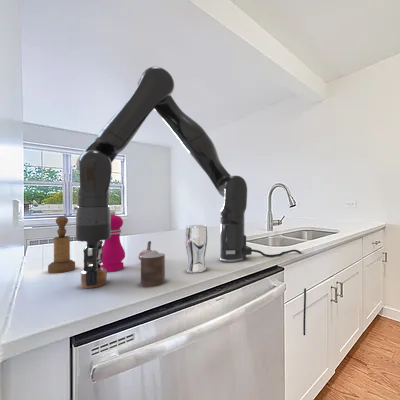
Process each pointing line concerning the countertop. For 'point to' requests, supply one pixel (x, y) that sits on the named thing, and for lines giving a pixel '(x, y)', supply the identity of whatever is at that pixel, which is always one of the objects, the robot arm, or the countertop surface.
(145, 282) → the cylinder
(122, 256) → the pepper mill
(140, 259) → the garlic bulb
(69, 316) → the countertop surface
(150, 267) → the walnut chip high
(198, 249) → the beer glass
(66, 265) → the wooden knobbed stamp
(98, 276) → the brown wooden short cylinder
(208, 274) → the countertop surface
